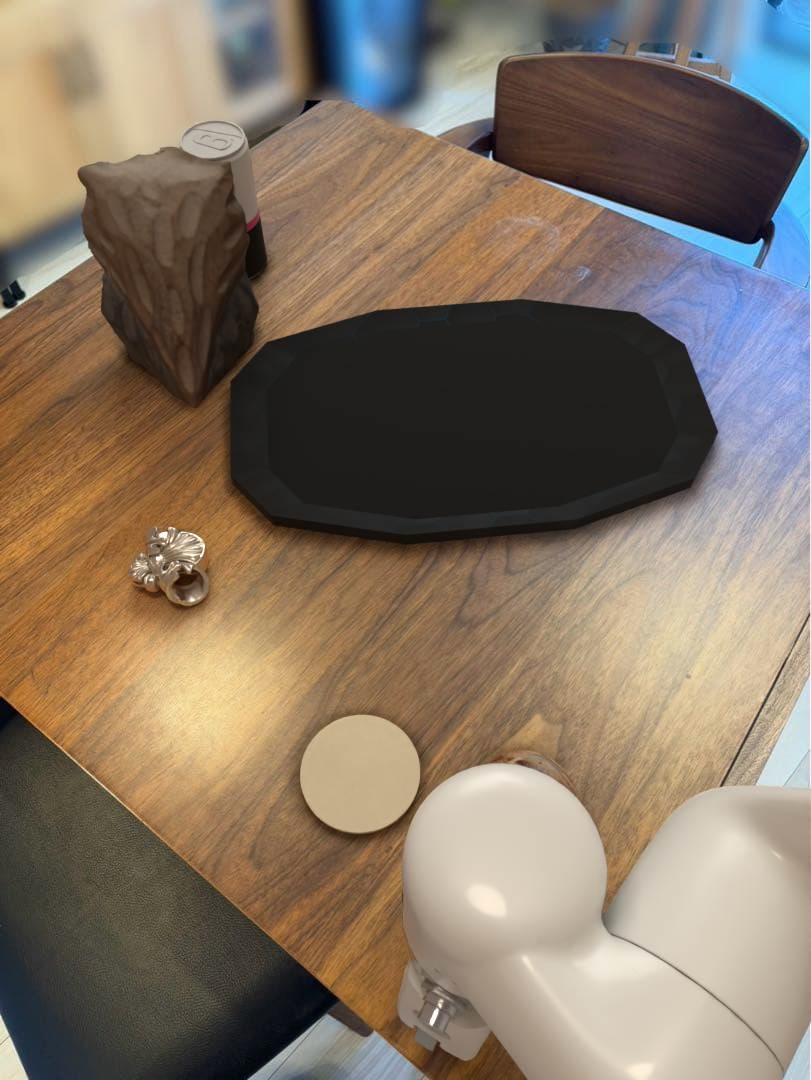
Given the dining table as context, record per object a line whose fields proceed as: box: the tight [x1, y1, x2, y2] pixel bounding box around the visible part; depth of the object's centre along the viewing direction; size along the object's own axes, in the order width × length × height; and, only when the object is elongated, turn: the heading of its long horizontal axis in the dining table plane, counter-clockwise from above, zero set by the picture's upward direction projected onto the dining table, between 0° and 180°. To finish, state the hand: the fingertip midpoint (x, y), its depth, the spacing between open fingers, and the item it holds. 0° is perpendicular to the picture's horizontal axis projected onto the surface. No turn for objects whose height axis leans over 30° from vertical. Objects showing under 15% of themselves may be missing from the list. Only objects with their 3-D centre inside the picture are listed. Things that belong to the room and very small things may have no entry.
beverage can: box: [178, 119, 268, 280], centre depth 91 cm, size 7×6×15 cm
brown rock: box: [77, 146, 260, 409], centre depth 83 cm, size 13×13×20 cm
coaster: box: [299, 714, 421, 835], centre depth 67 cm, size 9×9×1 cm
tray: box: [229, 298, 719, 545], centre depth 85 cm, size 45×28×2 cm, turn 96°
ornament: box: [127, 525, 210, 607], centre depth 75 cm, size 8×7×4 cm
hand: (460, 967), depth 57 cm, fingers closed
